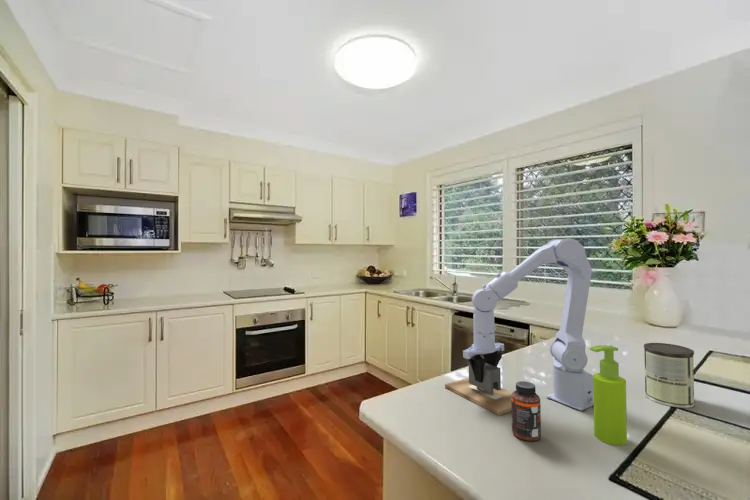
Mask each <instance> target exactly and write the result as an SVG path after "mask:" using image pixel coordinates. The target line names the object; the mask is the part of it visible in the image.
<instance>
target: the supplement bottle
mask: <svg viewBox="0 0 750 500" xmlns="http://www.w3.org/2000/svg"><path fill="white" fill-rule="evenodd" d="M536 390H537V389H536V385H535V384H534V383H533V382H531V381H530V382H529V381H523V380H522V381H519V380H518V381H516V382H515V390H514V391H512V396H511V399H512V400H511V404H512V411H511V431H512V433H513V435H514V436H515V437H517V438H519V439H520V440H523V441H529V442H535V441H538V440H539V439H540V438H541V435H542V428H541V427H542V425H541V424H542V422H541V421H542V420H541V419H542V418H541V415H542V414H541V408H542V407H541V406H542V405H541V398H540V396H539V395H538V394H537V393H536Z"/></svg>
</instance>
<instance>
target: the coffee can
mask: <svg viewBox="0 0 750 500" xmlns="http://www.w3.org/2000/svg"><path fill="white" fill-rule="evenodd" d="M643 349H644V386H645V387H644V389H645V390H644V395H645V397H646V398H648V399H649V401H652V402H655V403H657V404H659V405H660V404H661V405H663V406H668V407H673V408H679V409H681V408H682V409H691V408H693V407H695V404H696V403H695V381H694V379H695V377H694V371H695V370H694V369H695V368H694V364H695V363H694V355H695V351H694V350H693V349H691V348H689V347H687V346H683V345H678V344H673V343H672V344H671V343H666V342H665V343H663V342H647V343H644V344H643Z"/></svg>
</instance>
